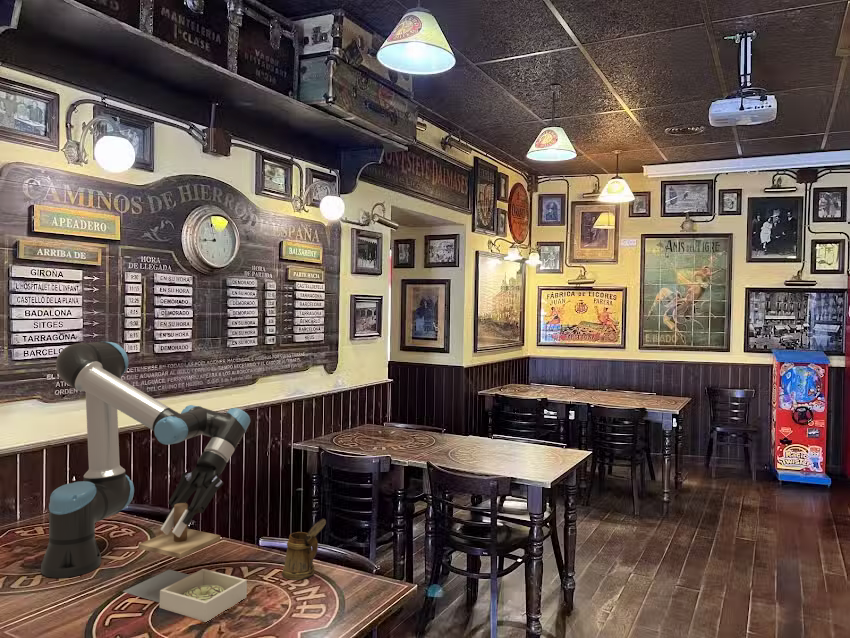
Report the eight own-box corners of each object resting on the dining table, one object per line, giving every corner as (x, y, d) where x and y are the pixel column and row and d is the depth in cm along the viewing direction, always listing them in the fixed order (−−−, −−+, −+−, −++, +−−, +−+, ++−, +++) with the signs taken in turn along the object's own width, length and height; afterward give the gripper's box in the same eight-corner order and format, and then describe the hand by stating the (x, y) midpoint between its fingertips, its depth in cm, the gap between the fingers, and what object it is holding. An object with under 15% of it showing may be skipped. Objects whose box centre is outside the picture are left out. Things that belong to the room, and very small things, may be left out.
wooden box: (159, 610, 159) (159, 590, 159) (202, 586, 172) (203, 568, 172) (205, 623, 153) (205, 603, 153) (246, 598, 166) (246, 579, 166)
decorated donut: (232, 606, 162) (232, 592, 162) (191, 619, 155) (191, 604, 155) (215, 592, 170) (216, 578, 170) (175, 603, 163) (176, 589, 163)
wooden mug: (311, 587, 174) (312, 522, 174) (275, 574, 181) (277, 513, 181) (332, 576, 182) (334, 514, 181) (297, 564, 189) (299, 505, 189)
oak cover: (138, 548, 165) (139, 508, 165) (180, 531, 178) (181, 494, 178) (180, 558, 159) (180, 516, 159) (220, 539, 172) (221, 501, 172)
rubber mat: (122, 593, 167) (122, 591, 167) (169, 571, 182) (169, 569, 181) (164, 606, 161) (164, 603, 161) (209, 582, 175) (209, 580, 175)
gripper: (244, 467, 179) (201, 545, 164) (199, 461, 186) (154, 535, 171) (231, 453, 174) (186, 531, 160) (186, 446, 181) (138, 521, 166)
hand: (170, 533), depth 165 cm, fingers closed on oak cover, 3 cm apart
